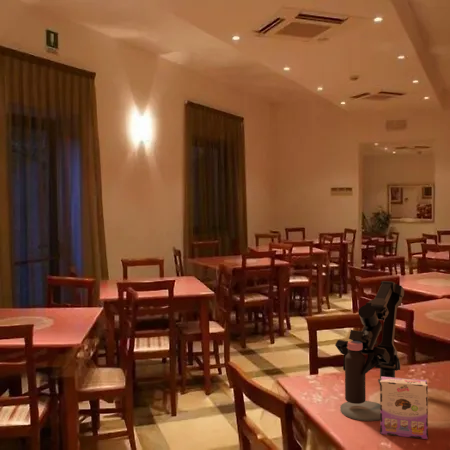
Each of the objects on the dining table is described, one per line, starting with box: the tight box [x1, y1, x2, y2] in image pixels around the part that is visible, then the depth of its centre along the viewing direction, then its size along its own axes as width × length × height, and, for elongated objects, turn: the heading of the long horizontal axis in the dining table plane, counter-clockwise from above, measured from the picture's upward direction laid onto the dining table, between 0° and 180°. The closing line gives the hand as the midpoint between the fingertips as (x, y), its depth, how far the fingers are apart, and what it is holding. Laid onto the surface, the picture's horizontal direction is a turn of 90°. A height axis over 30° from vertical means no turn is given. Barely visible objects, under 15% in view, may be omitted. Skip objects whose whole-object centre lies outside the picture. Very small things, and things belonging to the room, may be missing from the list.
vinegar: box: [344, 340, 367, 404], centre depth 183 cm, size 7×7×20 cm
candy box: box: [379, 376, 429, 440], centre depth 164 cm, size 14×6×16 cm, turn 71°
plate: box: [339, 400, 380, 422], centre depth 181 cm, size 16×16×1 cm
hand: (353, 372), depth 182 cm, fingers closed on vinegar, 7 cm apart
